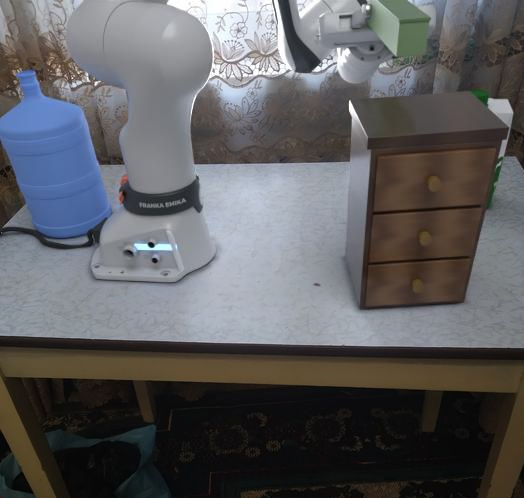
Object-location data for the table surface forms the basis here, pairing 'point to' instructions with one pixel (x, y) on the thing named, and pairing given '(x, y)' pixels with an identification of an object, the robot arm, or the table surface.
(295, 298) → the table surface
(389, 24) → the storage box
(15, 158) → the water jug
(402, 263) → the drawer unit
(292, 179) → the table surface
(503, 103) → the milk carton
